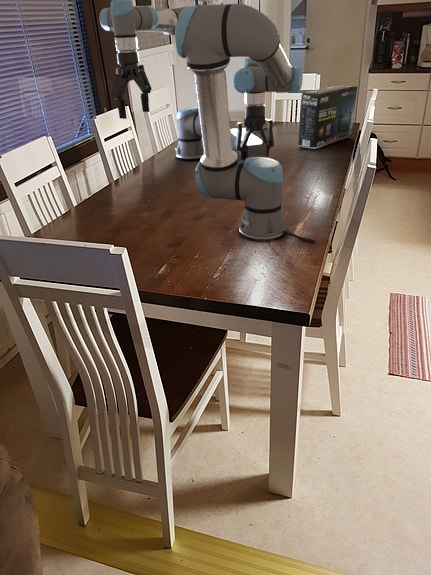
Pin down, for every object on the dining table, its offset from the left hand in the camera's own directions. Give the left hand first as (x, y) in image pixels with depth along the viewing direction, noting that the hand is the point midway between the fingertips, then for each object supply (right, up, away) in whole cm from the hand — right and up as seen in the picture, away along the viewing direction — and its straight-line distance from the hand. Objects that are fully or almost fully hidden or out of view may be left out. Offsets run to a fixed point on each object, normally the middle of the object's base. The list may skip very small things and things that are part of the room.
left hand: (135, 115), depth 171 cm
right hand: (+45, -17, +7) cm, 49 cm away
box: (+42, -12, +17) cm, 47 cm away
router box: (+89, +13, +73) cm, 116 cm away
